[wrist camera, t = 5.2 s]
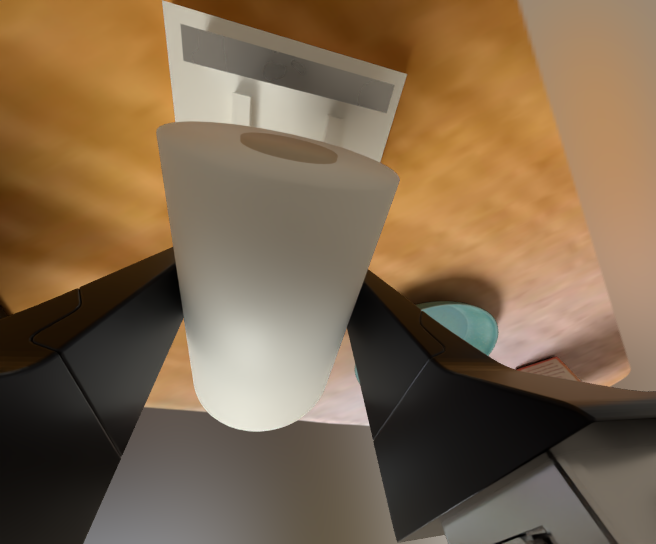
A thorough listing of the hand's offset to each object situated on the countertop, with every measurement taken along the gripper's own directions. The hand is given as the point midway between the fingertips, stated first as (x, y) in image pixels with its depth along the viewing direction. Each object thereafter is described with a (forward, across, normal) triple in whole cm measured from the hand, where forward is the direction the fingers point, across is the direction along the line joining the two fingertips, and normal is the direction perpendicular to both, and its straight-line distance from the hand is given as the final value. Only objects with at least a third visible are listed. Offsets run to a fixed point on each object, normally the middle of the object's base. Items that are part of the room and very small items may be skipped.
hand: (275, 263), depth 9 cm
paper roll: (+1, 0, 0) cm, 1 cm away
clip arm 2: (+8, 0, -6) cm, 10 cm away
